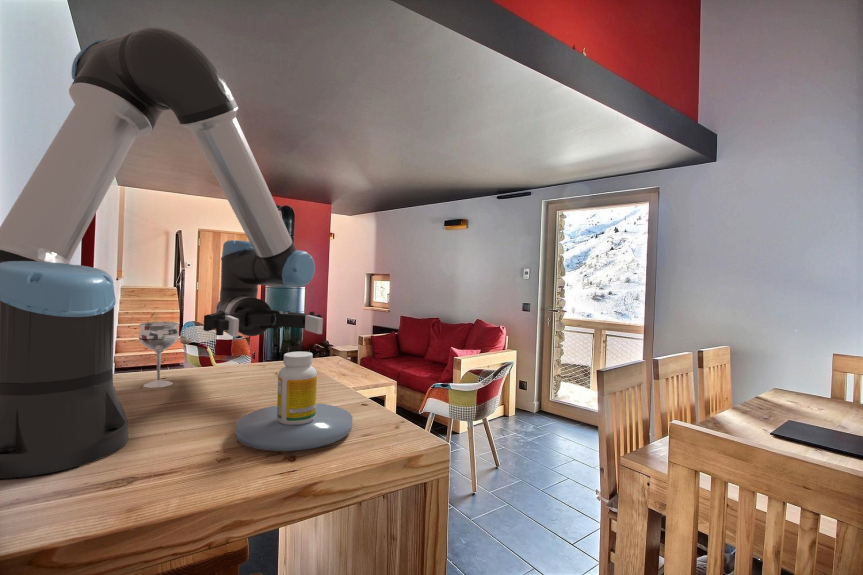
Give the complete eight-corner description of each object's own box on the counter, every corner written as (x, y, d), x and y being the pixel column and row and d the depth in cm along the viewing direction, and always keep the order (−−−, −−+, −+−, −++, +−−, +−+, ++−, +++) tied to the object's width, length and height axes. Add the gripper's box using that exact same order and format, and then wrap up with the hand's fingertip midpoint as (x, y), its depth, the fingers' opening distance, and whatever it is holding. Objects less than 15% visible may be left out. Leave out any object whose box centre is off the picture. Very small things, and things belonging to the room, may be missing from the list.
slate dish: (276, 469, 51) (276, 452, 51) (214, 433, 61) (214, 419, 61) (374, 433, 63) (374, 419, 63) (309, 408, 73) (310, 397, 73)
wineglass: (157, 390, 81) (159, 327, 80) (128, 386, 82) (129, 324, 82) (186, 381, 87) (187, 323, 87) (158, 378, 89) (159, 321, 88)
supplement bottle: (268, 421, 61) (269, 354, 61) (295, 411, 66) (296, 349, 65) (298, 428, 59) (299, 359, 58) (323, 417, 64) (324, 352, 63)
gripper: (307, 332, 95) (349, 346, 78) (177, 336, 80) (193, 354, 63) (309, 298, 95) (351, 304, 77) (179, 295, 80) (195, 303, 63)
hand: (280, 327), depth 70 cm, fingers open, 13 cm apart
